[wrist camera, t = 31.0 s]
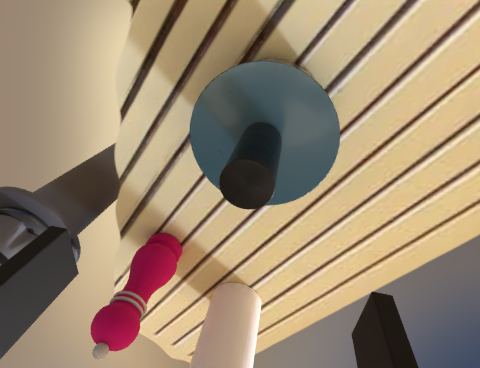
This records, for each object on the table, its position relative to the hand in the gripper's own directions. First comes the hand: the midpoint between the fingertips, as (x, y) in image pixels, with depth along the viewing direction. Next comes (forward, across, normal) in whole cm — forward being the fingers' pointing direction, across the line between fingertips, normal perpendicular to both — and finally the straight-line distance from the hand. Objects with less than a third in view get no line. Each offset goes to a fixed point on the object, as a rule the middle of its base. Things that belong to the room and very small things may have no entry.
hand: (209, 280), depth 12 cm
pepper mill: (+28, -15, -26) cm, 41 cm away
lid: (+18, 0, 0) cm, 18 cm away
